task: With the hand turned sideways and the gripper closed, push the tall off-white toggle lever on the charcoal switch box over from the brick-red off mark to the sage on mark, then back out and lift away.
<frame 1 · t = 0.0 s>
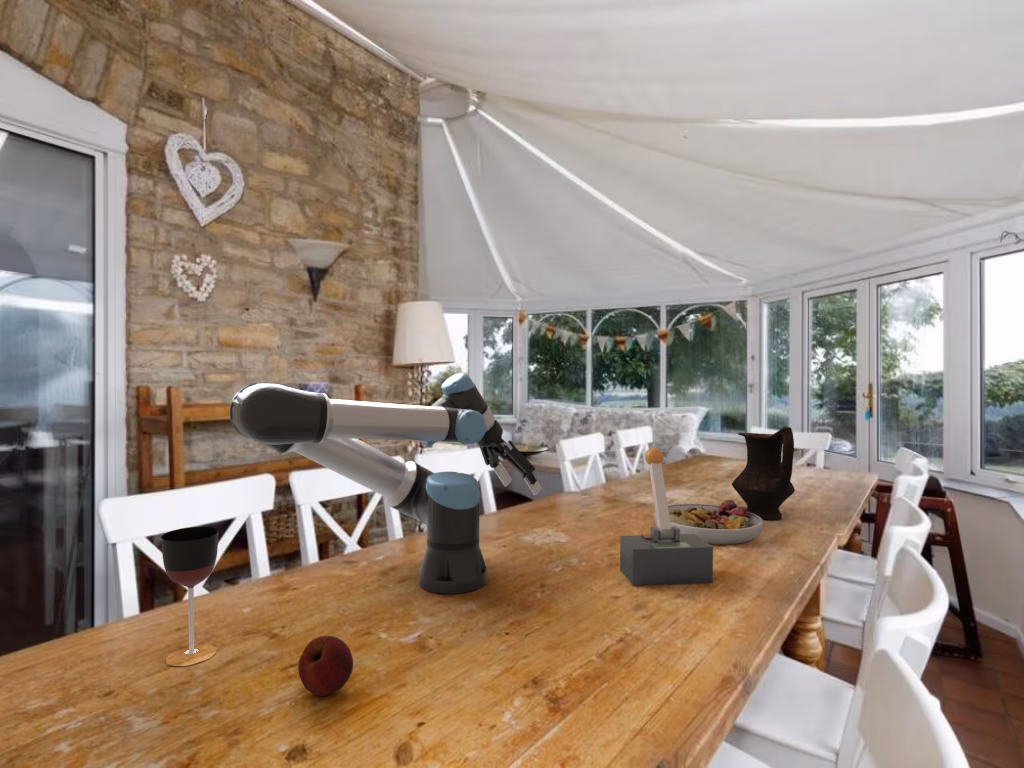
hand: (522, 487, 151), 15 cm above the table, tool tilted 35°, fingers open, 13 cm apart
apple: (326, 692, 81), on the table
switch box: (664, 576, 127), on the table
bowl: (706, 533, 163), on the table
jug: (765, 517, 179), on the table
lever: (659, 492, 130), point 18 cm above the table, hinge at -25.0°
wineglass: (191, 656, 91), on the table
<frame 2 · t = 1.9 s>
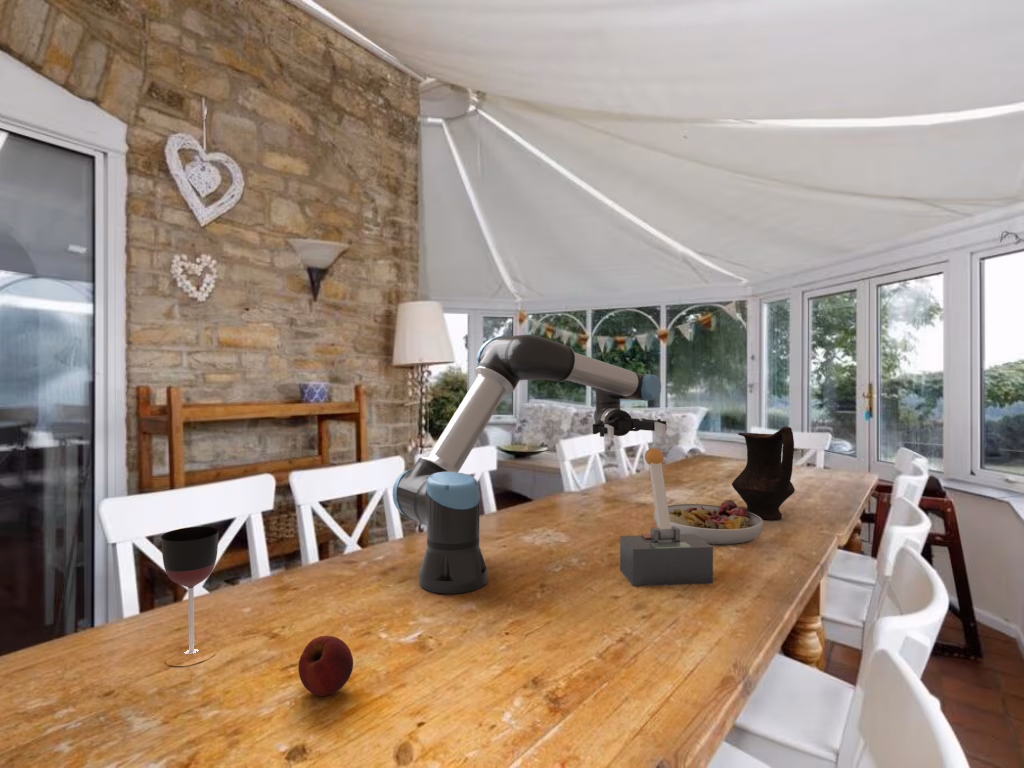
hand: (638, 431, 142), 31 cm above the table, tool horizontal, fingers open, 13 cm apart
nothing on the table moved.
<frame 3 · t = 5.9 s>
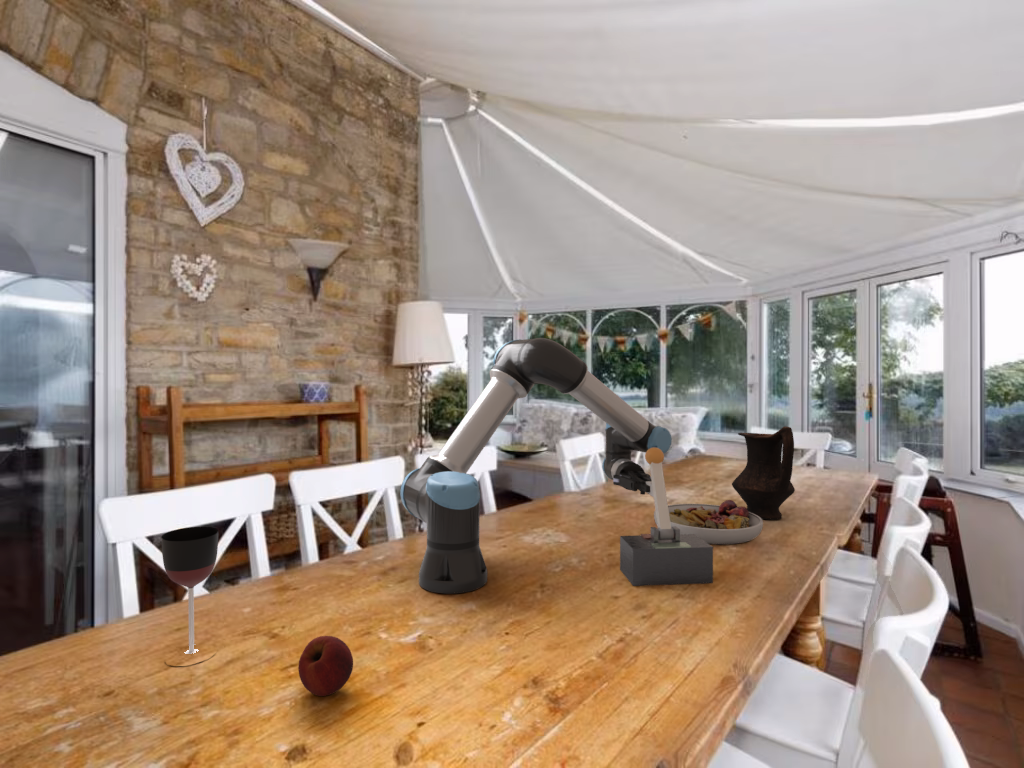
hand: (657, 492, 132), 18 cm above the table, tool horizontal, fingers closed
lever: (659, 492, 130), point 18 cm above the table, hinge at -23.9°, touching gripper
everything else where it was.
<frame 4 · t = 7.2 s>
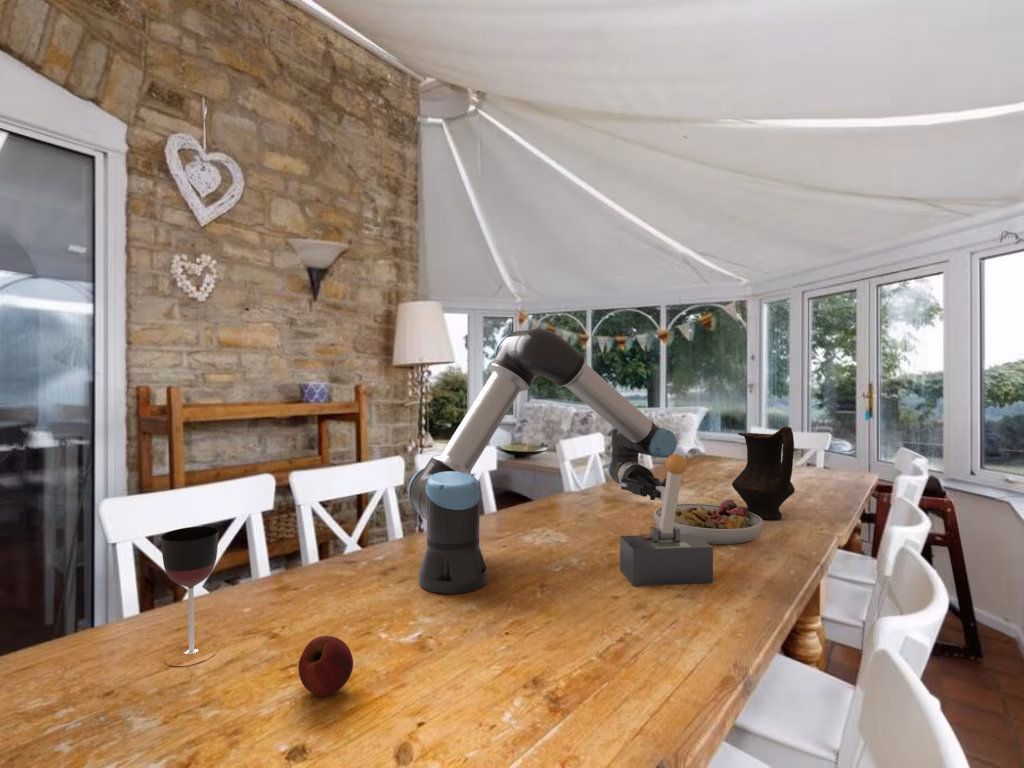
hand: (669, 497, 125), 18 cm above the table, tool horizontal, fingers closed
lever: (670, 498, 123), point 19 cm above the table, hinge at 20.7°, touching gripper
everything else where it was.
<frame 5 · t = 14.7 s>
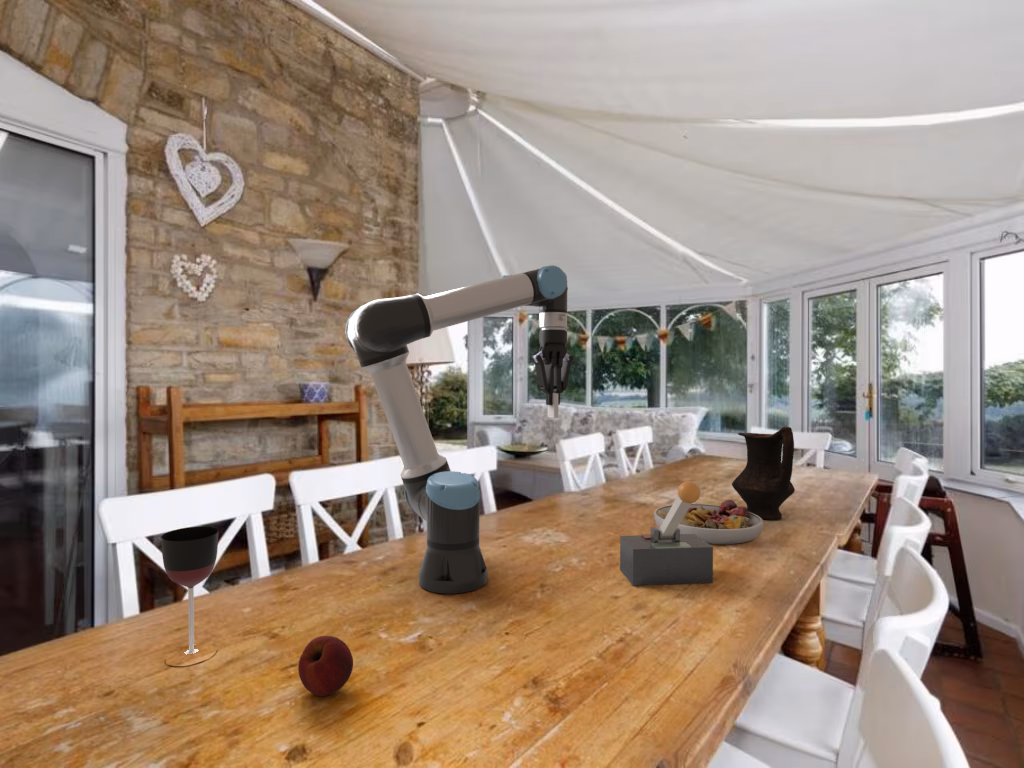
hand: (552, 417, 150), 34 cm above the table, tool pointing down, fingers closed
lever: (676, 512, 119), point 16 cm above the table, hinge at 47.2°
everything else where it was.
at the end: lever at +47° (first picture: -25°) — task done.
